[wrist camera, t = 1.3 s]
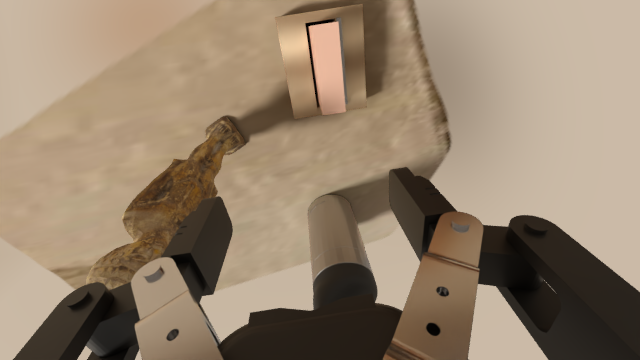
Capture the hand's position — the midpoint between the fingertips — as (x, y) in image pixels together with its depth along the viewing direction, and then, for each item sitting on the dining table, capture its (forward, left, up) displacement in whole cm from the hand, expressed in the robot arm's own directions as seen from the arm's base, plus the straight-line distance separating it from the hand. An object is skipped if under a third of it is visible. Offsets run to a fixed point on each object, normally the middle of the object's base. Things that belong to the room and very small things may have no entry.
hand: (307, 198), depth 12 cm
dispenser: (-1, -5, -32) cm, 32 cm away
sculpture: (+2, +15, -32) cm, 36 cm away
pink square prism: (-1, -5, -32) cm, 32 cm away
